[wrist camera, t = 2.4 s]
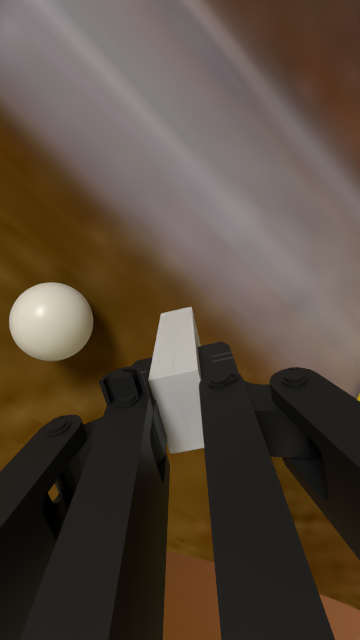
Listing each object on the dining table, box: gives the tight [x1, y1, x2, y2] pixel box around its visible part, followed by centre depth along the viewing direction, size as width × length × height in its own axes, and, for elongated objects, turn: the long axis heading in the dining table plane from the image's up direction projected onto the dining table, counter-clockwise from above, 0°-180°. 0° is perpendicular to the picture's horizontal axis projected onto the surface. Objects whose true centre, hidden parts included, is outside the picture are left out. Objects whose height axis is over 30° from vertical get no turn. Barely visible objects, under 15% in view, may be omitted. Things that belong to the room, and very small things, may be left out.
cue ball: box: [9, 283, 93, 361], centre depth 23 cm, size 6×6×6 cm
